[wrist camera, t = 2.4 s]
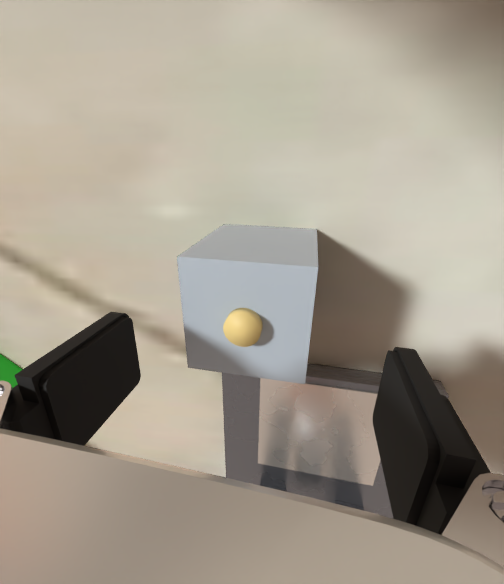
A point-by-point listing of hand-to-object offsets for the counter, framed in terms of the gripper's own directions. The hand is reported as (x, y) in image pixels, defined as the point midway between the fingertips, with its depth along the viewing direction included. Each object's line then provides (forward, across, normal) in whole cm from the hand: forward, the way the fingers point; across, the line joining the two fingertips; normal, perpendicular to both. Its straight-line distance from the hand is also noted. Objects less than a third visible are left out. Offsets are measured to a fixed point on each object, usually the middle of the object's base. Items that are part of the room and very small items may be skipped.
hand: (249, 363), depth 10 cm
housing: (+7, 0, -1) cm, 7 cm away
